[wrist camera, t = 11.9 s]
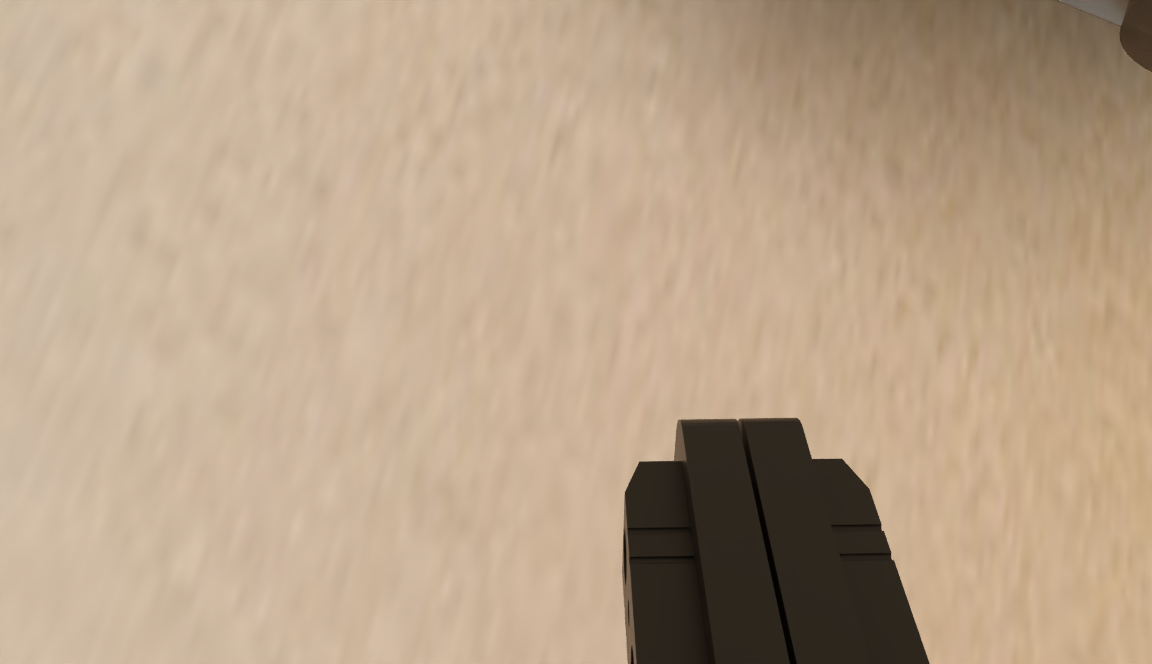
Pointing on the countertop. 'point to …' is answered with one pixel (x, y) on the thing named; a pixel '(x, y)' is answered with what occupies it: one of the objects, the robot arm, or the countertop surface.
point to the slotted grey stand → (1102, 8)
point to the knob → (1138, 32)
